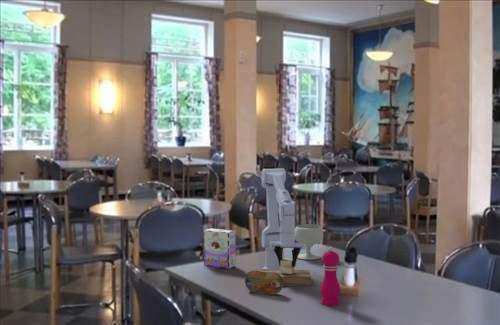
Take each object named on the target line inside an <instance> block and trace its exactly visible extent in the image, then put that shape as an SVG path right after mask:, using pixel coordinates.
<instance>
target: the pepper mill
mask: <svg viewBox="0 0 500 325" xmlns="http://www.w3.org/2000/svg"><path fill="white" fill-rule="evenodd" d="M321 261H322V263H323V267H322V268H323V271H324V276H323V281H321V282H322V283H321V285H320V288H319V293H320V295H321V296H322V297H321V298H320V299H321V304H322V305H325V306H329V307H330V306H332V307H333V306H338V305H339V304H340V298H339V296H340V295H341V293H342V290H341V286H340V283H339V280H338V276H337V270H338V268H339V265H338V263H340V255H339V254H338V253H337V252H336V251H334V247H332V246H330V247H328V251H325V252H324V253H323V254H322V255H321Z"/></svg>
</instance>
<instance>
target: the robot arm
mask: <svg viewBox="0 0 500 325" xmlns="http://www.w3.org/2000/svg"><path fill="white" fill-rule="evenodd" d="M260 177H261V179H260V180H261V187H262V188H263V189H265V192H266V213H267V215H266V216H267V226H266V227H265V228H263V229H262V231H261V237H260V238H261V246H262V248H263V249H265V250H264V251H265V252H264V253H265V254H264V256H265V258H264V264H265V265H264V267H262V271H265V270H280V261H281V260H282V259H283V258H284V249H291V256H292V258H291V259H293V261H292V267H294V268H295V267H296V266H297V260H298V258H297V257H298V255H299V254H301V253H300V252H301V251H302V250H303V251H304V250H306V244H302V243H299V242H295V241H296V240H295V228H296V224H295V222H296V221H295V220H296V219H295V218H296V217H297V213H298V206H297V203H296V201H295V200H293V199H292V197H291V195H290V191H288V189H286V188H285V182H286V180H287V172H286V170H285V168H283V167H282V168H263V169H262V170H261V175H260ZM279 222H280V226H279Z"/></svg>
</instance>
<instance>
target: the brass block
mask: <svg viewBox="0 0 500 325" xmlns="http://www.w3.org/2000/svg"><path fill="white" fill-rule="evenodd" d="M264 271H270V272H276V273H278V274H279V275H280V276H281V277H282V279H283V287H287V286H292V287H295V286H297V287H299V286H300V287H301V286H305V287H306V286H312V275H311V273H310V270H308V269H305V270H304V269H302V270H300V269H298V270H297V269H294V272H293V273H292V274H285V273H280V270H264Z"/></svg>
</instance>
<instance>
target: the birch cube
mask: <svg viewBox="0 0 500 325" xmlns="http://www.w3.org/2000/svg"><path fill="white" fill-rule="evenodd" d="M292 261H293V258H286V257H283V259H282V260H281V261H280V273H285V274H292V273H293V272H294V270H295V267H292Z"/></svg>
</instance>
